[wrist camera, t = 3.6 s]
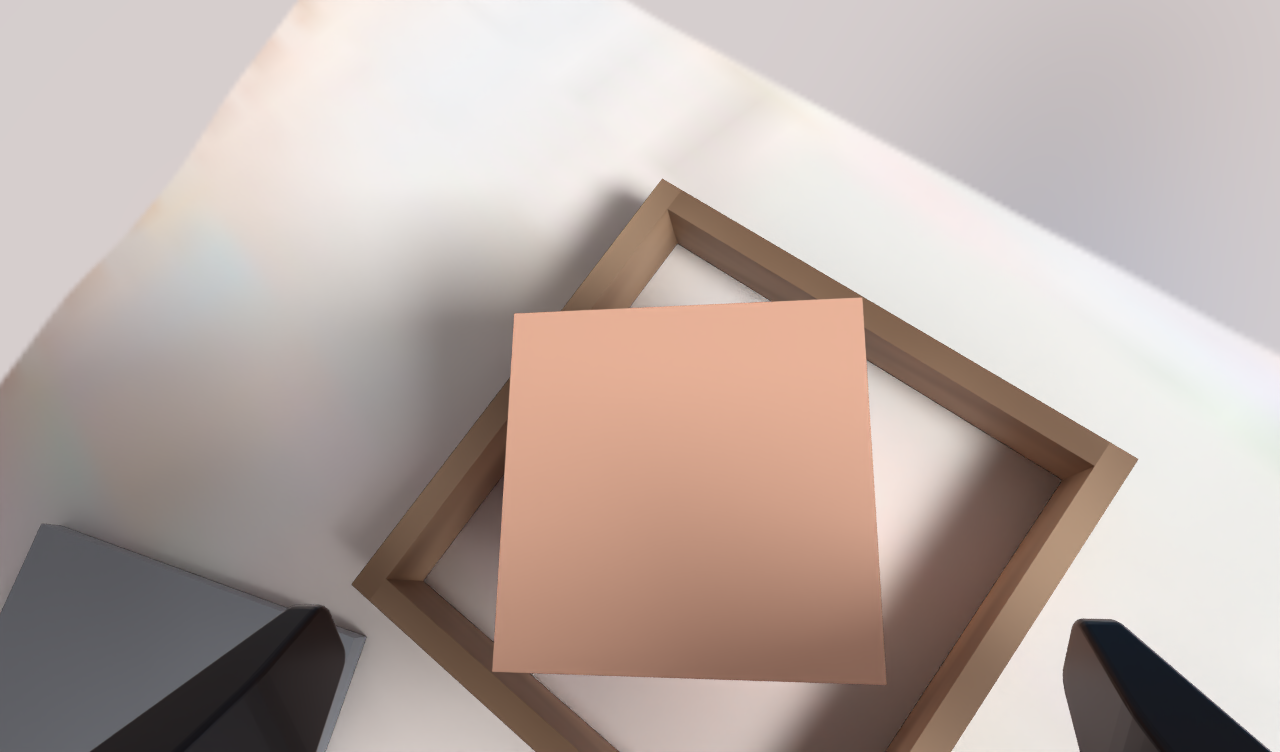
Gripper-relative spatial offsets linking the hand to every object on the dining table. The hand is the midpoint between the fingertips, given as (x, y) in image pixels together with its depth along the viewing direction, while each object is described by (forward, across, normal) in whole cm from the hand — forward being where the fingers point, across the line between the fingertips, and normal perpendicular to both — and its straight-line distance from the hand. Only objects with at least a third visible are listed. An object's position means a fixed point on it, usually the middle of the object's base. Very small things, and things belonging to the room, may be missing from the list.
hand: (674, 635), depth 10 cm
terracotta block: (+8, 0, +5) cm, 10 cm away
